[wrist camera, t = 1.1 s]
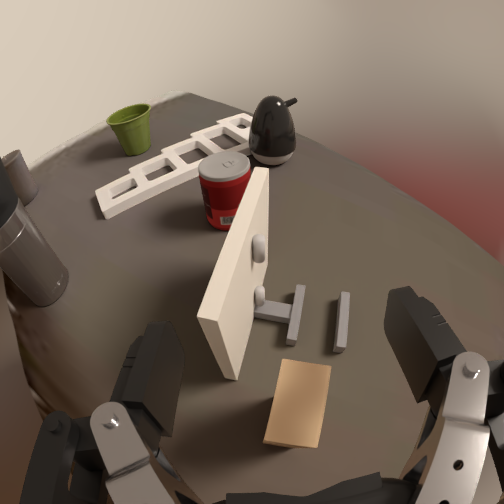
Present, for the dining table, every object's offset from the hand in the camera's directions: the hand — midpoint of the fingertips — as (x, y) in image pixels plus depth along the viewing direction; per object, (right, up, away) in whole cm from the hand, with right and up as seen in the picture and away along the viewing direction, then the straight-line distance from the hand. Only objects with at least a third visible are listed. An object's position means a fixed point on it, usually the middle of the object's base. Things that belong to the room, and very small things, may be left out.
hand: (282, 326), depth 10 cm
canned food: (-5, +9, +40) cm, 41 cm away
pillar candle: (-65, +18, +50) cm, 83 cm away
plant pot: (-31, +30, +58) cm, 73 cm away
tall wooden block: (+3, -17, +18) cm, 25 cm away
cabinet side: (+4, -7, +27) cm, 28 cm away
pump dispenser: (+4, +23, +52) cm, 57 cm away
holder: (-17, +24, +54) cm, 62 cm away
